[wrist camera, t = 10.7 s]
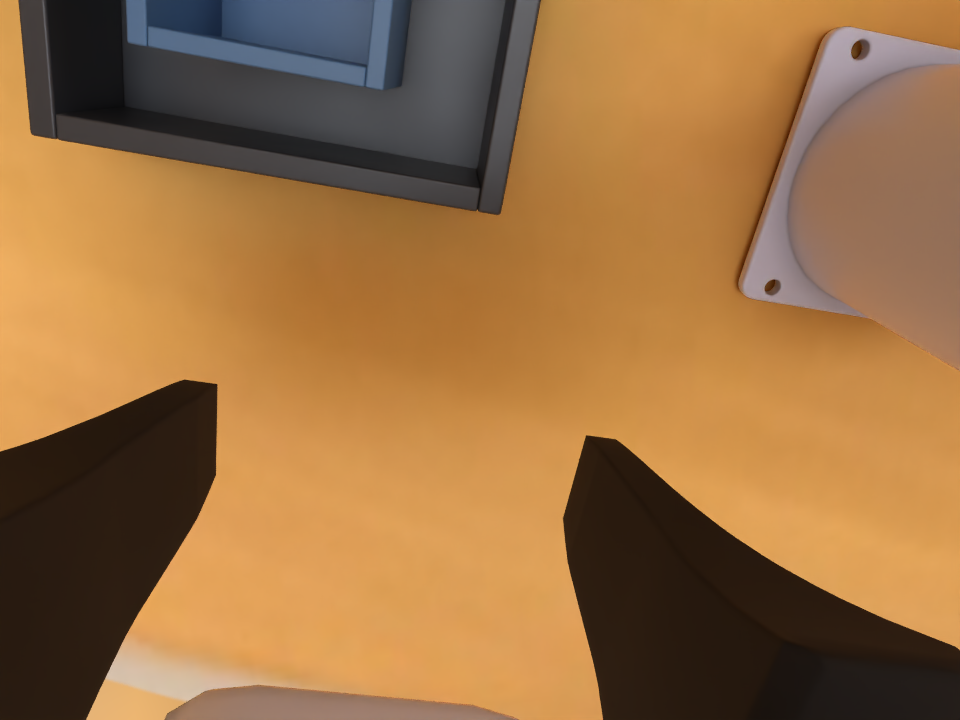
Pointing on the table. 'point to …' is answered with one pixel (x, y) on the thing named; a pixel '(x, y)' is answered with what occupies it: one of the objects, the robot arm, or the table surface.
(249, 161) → the charcoal bin
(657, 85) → the table surface
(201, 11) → the blue bin
